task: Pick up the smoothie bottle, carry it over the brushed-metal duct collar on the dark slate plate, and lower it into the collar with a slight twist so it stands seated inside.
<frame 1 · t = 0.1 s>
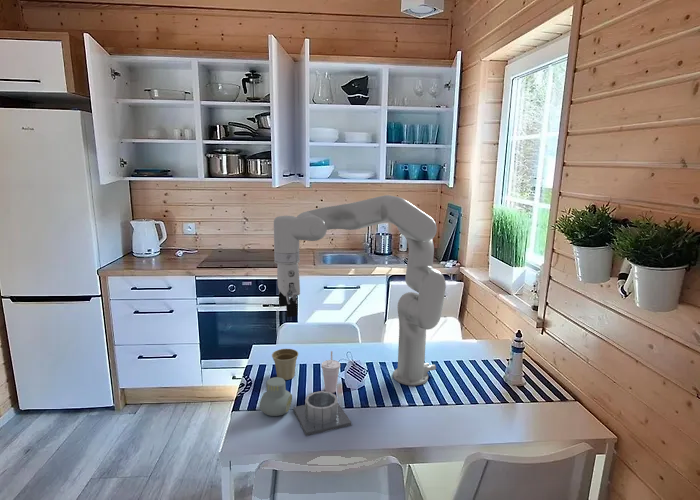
hand: (287, 310, 135), 31 cm above the table, tool pointing down, fingers open, 9 cm apart
duct collar: (321, 417, 133), on the table
smoothie: (330, 390, 149), on the table
flower pot: (285, 376, 158), on the table
air freshener: (276, 411, 137), on the table
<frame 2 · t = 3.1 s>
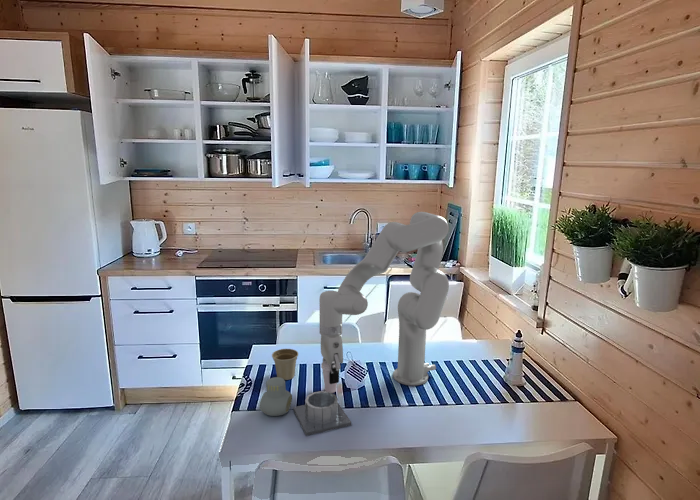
hand: (330, 377, 148), 5 cm above the table, tool pointing down, fingers closed on smoothie, 6 cm apart
smoothie: (330, 390, 149), on the table, touching gripper
everything else where it was.
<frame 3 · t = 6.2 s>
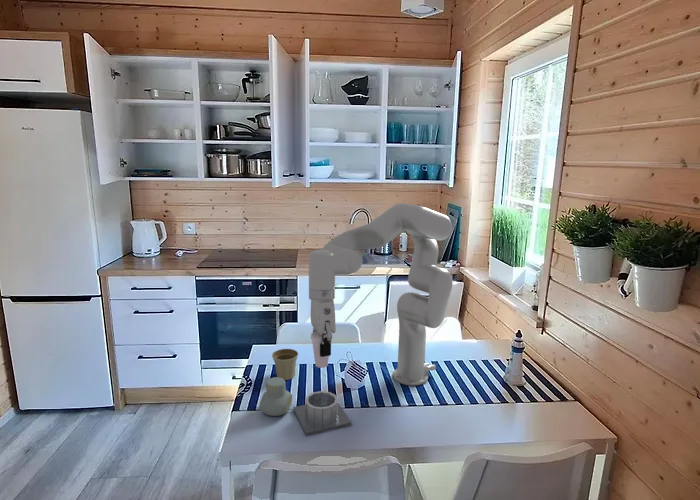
hand: (321, 350, 129), 22 cm above the table, tool pointing down, fingers closed on smoothie, 6 cm apart
smoothie: (321, 365, 130), point 17 cm above the table, touching gripper
everything else where it was.
when the fingers open (7 cm above the table, at t = 9.3 s): smoothie drops 1 cm, resting on duct collar.
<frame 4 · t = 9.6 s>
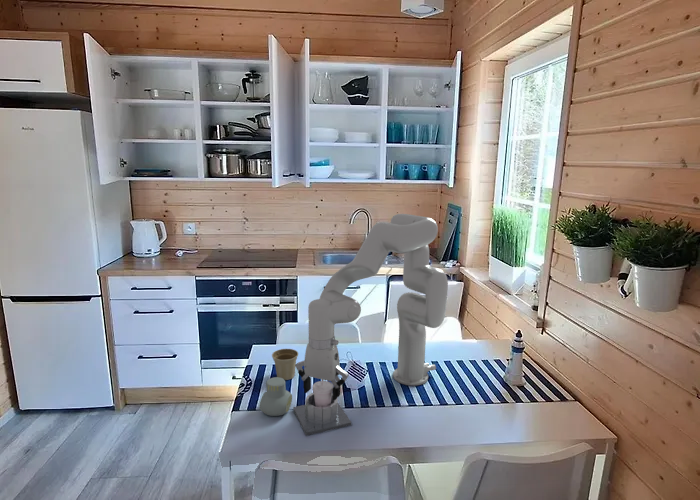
hand: (321, 394, 132), 8 cm above the table, tool pointing down, fingers open, 9 cm apart
smoothie: (323, 415, 133), point 1 cm above the table, touching duct collar
everything else where it was.
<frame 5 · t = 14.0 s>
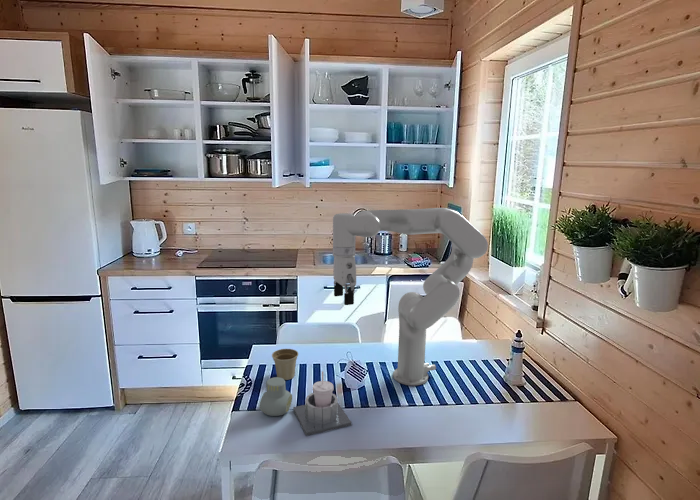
hand: (343, 300, 148), 30 cm above the table, tool pointing down, fingers open, 9 cm apart
nothing on the table moved.
at the end: smoothie 0.5 cm off-centre on the duct collar, point 0.8 cm above the duct collar's base; smoothie tilted 0°; the gripper is holding nothing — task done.
